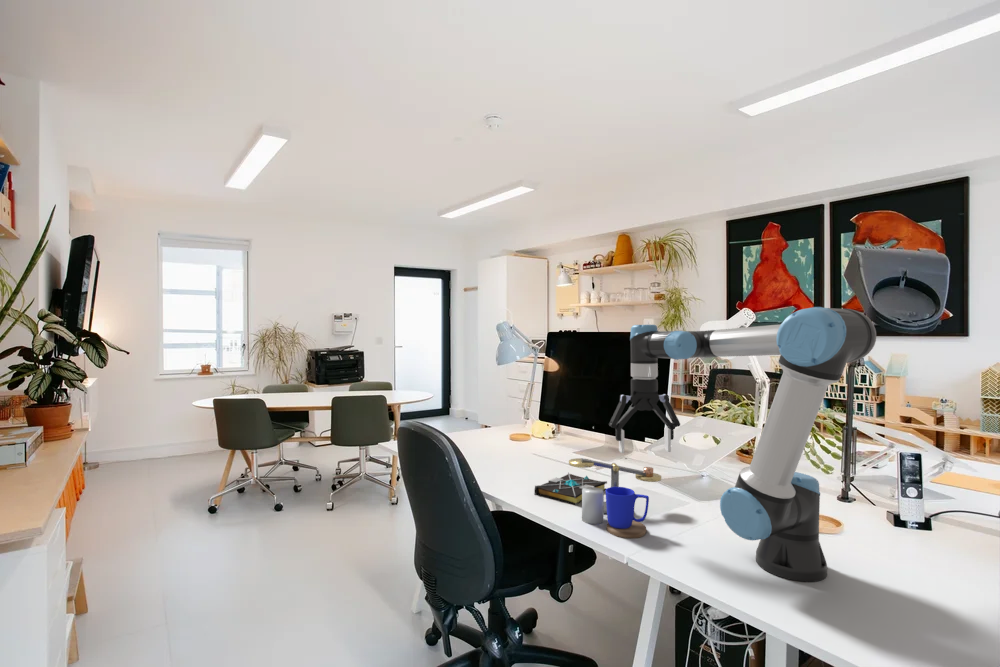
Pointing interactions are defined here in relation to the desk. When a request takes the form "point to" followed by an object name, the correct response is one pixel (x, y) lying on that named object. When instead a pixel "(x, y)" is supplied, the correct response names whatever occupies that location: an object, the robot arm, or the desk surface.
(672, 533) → the desk surface
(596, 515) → the white cylinder
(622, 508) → the mug
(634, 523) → the dish
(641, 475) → the balance
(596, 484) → the book
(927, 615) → the desk surface
